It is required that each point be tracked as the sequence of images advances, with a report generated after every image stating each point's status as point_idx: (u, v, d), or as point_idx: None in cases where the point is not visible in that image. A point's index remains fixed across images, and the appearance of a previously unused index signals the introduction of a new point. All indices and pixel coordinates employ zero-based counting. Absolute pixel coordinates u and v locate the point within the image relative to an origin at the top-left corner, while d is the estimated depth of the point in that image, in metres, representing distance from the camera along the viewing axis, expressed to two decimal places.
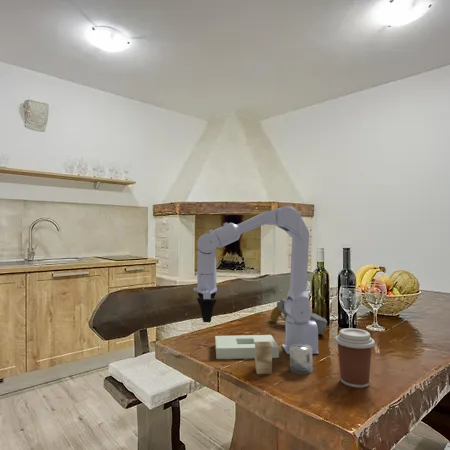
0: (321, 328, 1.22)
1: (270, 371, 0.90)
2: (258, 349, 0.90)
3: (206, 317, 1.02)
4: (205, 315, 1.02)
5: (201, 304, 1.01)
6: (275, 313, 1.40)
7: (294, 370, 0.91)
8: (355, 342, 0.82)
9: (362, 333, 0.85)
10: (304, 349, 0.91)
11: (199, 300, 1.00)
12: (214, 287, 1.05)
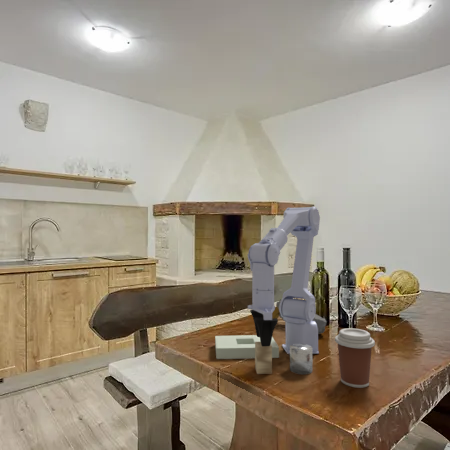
0: (320, 328, 1.22)
1: (270, 371, 0.90)
2: (258, 349, 0.90)
3: (265, 340, 0.88)
4: (264, 338, 0.88)
5: (260, 325, 0.87)
6: (275, 313, 1.41)
7: (294, 370, 0.91)
8: (355, 342, 0.82)
9: (362, 333, 0.85)
10: (304, 349, 0.91)
11: (258, 321, 0.86)
12: (272, 305, 0.91)
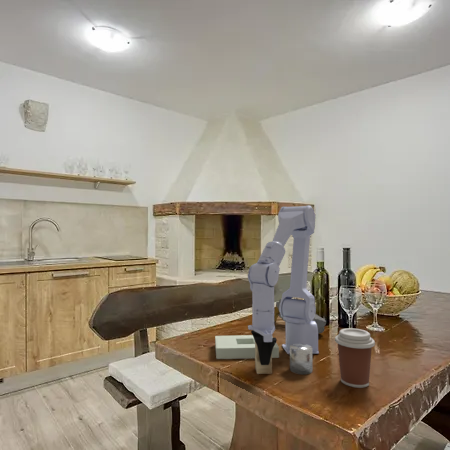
0: (320, 328, 1.22)
1: (270, 371, 0.90)
2: None
3: (264, 359, 0.90)
4: (263, 357, 0.90)
5: (259, 345, 0.88)
6: (274, 313, 1.41)
7: (294, 370, 0.91)
8: (355, 342, 0.82)
9: (362, 333, 0.85)
10: (304, 349, 0.91)
11: (257, 341, 0.88)
12: (273, 325, 0.91)
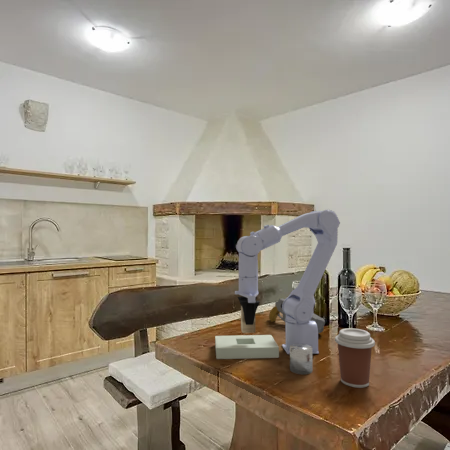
0: (319, 327, 1.22)
1: (254, 330, 1.03)
2: None
3: (249, 319, 1.02)
4: (248, 317, 1.02)
5: (244, 306, 1.00)
6: (273, 313, 1.41)
7: (294, 370, 0.91)
8: (355, 342, 0.82)
9: (362, 333, 0.85)
10: (304, 349, 0.91)
11: (243, 302, 1.00)
12: (256, 290, 1.03)
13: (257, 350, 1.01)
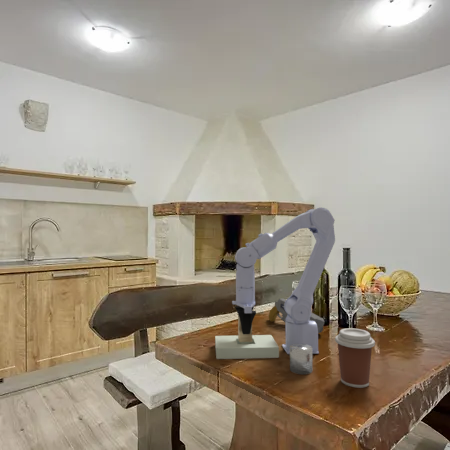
0: (318, 327, 1.23)
1: (250, 340, 1.05)
2: None
3: (245, 329, 1.04)
4: (244, 327, 1.04)
5: (241, 316, 1.03)
6: (273, 313, 1.41)
7: (294, 370, 0.91)
8: (355, 342, 0.82)
9: (362, 333, 0.85)
10: (304, 349, 0.91)
11: (239, 313, 1.03)
12: (253, 301, 1.06)
13: (257, 350, 1.01)
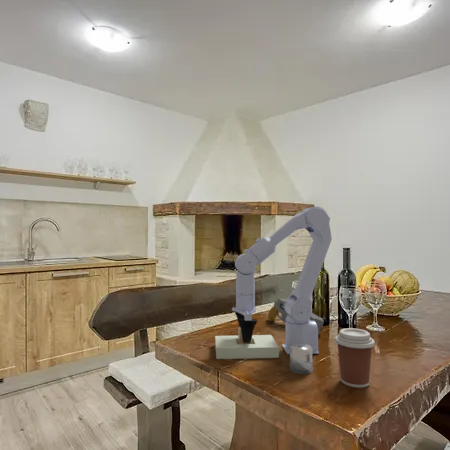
0: (318, 327, 1.23)
1: None
2: (240, 332, 1.05)
3: (246, 338, 1.03)
4: (245, 336, 1.03)
5: (242, 325, 1.01)
6: (272, 312, 1.42)
7: (294, 370, 0.91)
8: (355, 342, 0.82)
9: (362, 333, 0.85)
10: (304, 349, 0.91)
11: (240, 321, 1.01)
12: (253, 307, 1.06)
13: (257, 350, 1.01)
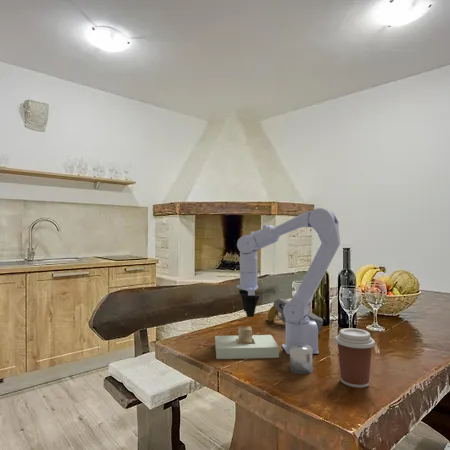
0: (317, 327, 1.23)
1: None
2: (240, 332, 1.05)
3: (249, 312, 1.11)
4: (249, 310, 1.11)
5: (245, 300, 1.10)
6: (272, 312, 1.42)
7: (294, 370, 0.91)
8: (355, 342, 0.82)
9: (362, 333, 0.85)
10: (304, 349, 0.91)
11: (244, 296, 1.09)
12: (256, 284, 1.14)
13: (257, 350, 1.01)
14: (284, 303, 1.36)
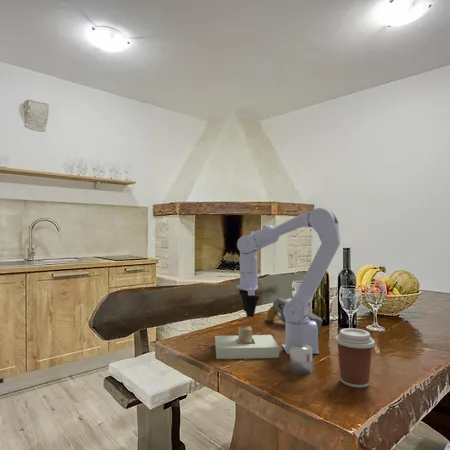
0: None
1: None
2: (240, 332, 1.05)
3: (249, 312, 1.11)
4: (249, 310, 1.11)
5: (245, 300, 1.10)
6: (271, 312, 1.42)
7: (294, 370, 0.91)
8: (355, 342, 0.82)
9: (362, 333, 0.85)
10: (304, 349, 0.91)
11: (244, 296, 1.09)
12: (256, 284, 1.14)
13: (257, 350, 1.01)
14: (283, 303, 1.36)
